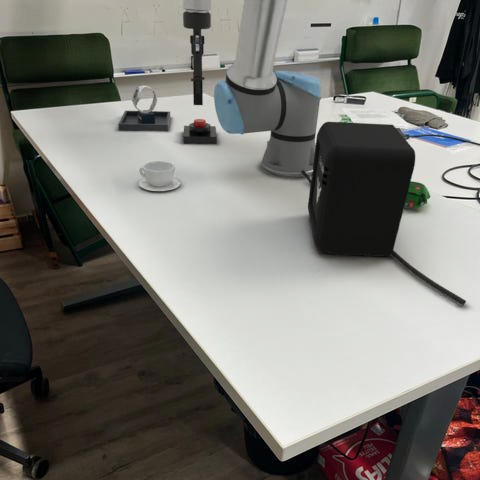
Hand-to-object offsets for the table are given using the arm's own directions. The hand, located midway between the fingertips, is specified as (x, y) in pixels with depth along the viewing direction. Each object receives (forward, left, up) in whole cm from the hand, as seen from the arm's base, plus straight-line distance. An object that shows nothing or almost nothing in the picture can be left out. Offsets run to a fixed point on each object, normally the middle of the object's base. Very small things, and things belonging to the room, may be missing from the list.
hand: (198, 104), depth 143 cm
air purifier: (-67, -29, -10) cm, 74 cm away
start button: (0, 0, -6) cm, 6 cm away
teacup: (-40, +10, -10) cm, 42 cm away
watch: (+16, +17, -10) cm, 25 cm away
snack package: (-50, -45, -10) cm, 68 cm away
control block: (0, 0, -10) cm, 10 cm away
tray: (+16, +18, -10) cm, 26 cm away
